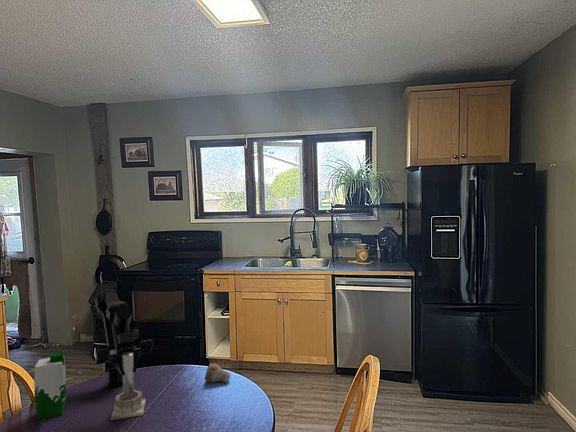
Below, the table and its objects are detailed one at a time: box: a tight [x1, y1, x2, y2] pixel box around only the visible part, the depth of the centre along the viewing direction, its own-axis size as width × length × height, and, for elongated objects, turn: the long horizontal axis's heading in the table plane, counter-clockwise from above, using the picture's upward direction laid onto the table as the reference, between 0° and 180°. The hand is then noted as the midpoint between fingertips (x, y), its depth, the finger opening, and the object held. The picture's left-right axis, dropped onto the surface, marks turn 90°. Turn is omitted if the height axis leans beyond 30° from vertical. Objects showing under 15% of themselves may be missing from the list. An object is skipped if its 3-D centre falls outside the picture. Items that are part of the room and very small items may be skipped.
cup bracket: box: [110, 389, 146, 421], centre depth 133 cm, size 10×10×5 cm
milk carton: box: [33, 351, 67, 420], centre depth 132 cm, size 9×9×20 cm
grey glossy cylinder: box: [122, 352, 135, 394], centre depth 132 cm, size 4×4×13 cm
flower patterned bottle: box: [204, 362, 231, 383], centre depth 154 cm, size 8×10×10 cm
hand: (128, 373), depth 131 cm, fingers closed on grey glossy cylinder, 4 cm apart
